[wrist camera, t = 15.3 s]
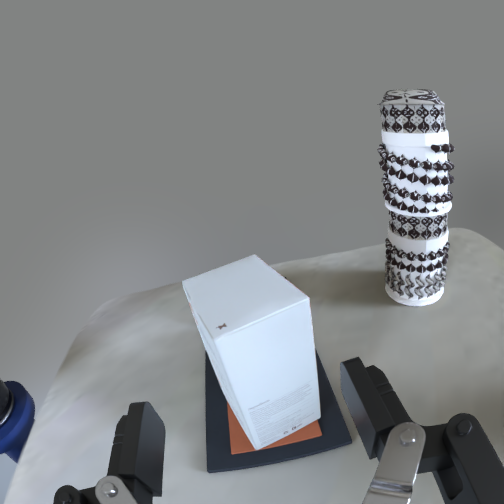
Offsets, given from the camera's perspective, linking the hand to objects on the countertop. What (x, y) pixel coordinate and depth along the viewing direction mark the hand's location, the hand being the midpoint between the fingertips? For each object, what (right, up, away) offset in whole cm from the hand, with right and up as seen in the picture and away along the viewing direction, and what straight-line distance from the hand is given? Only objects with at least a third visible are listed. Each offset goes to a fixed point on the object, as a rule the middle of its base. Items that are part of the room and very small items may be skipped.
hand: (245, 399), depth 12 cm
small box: (+2, -8, +14) cm, 17 cm away
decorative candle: (+22, +1, +26) cm, 34 cm away
